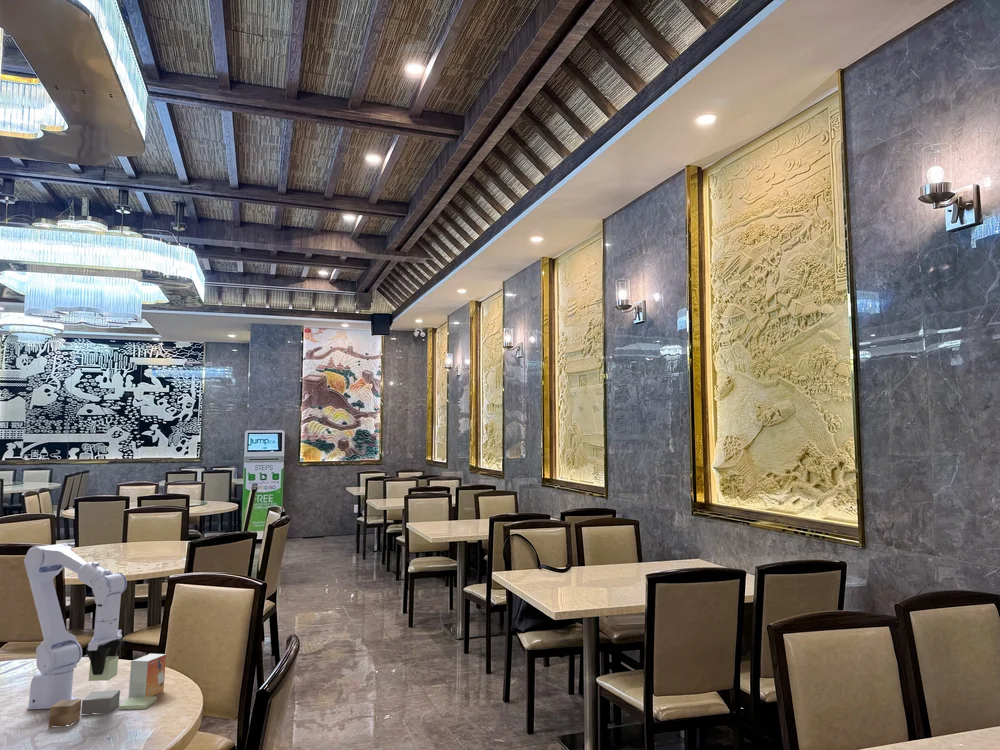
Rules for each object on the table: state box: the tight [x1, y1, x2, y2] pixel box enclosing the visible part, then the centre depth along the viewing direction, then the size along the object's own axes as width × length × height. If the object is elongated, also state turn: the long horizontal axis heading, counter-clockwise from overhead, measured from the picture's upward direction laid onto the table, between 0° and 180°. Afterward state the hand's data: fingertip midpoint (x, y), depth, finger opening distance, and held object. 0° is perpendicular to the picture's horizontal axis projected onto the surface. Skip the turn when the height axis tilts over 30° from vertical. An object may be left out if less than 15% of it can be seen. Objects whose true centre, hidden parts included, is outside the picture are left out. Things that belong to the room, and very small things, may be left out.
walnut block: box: [48, 698, 82, 728], centre depth 170 cm, size 5×5×5 cm
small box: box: [127, 653, 167, 699], centre depth 192 cm, size 8×6×10 cm
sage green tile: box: [118, 695, 157, 710], centre depth 183 cm, size 7×7×1 cm
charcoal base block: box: [80, 689, 121, 715], centre depth 180 cm, size 7×7×4 cm
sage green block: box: [88, 655, 119, 682], centre depth 180 cm, size 5×5×5 cm
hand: (102, 671), depth 180 cm, fingers closed on sage green block, 5 cm apart
